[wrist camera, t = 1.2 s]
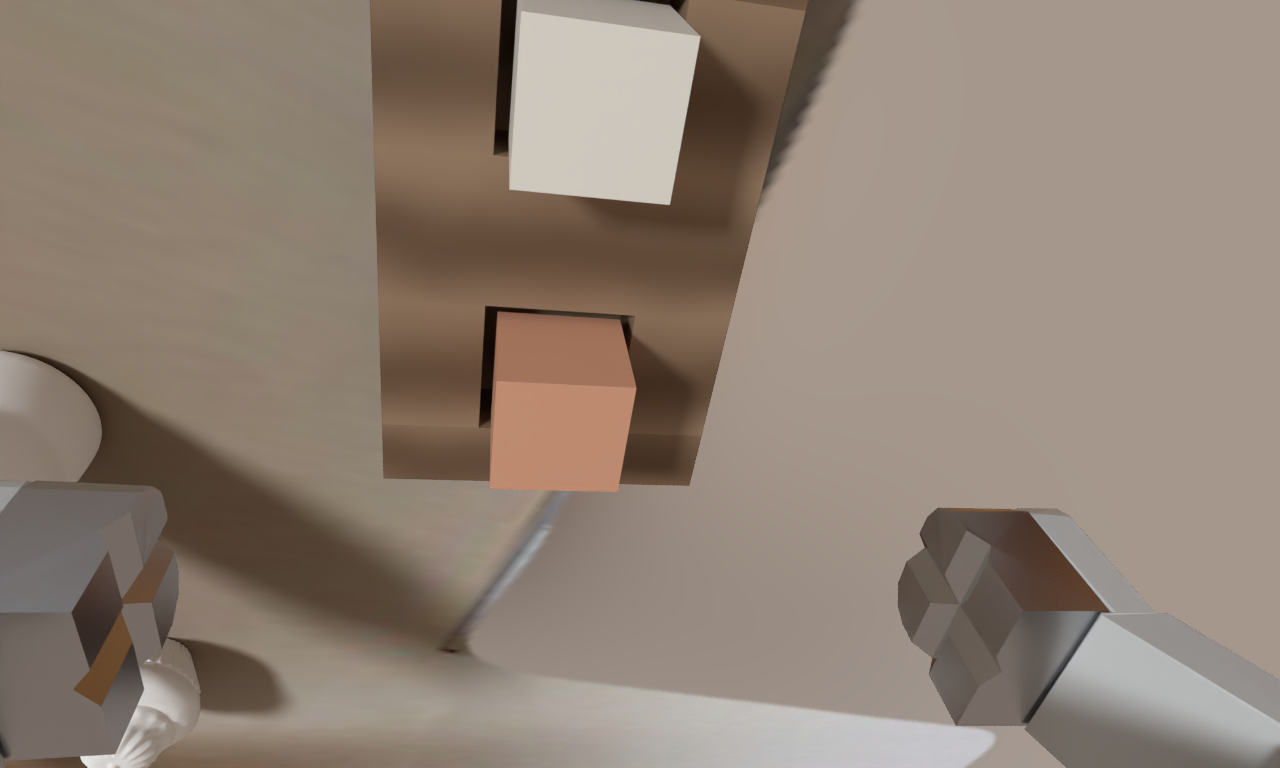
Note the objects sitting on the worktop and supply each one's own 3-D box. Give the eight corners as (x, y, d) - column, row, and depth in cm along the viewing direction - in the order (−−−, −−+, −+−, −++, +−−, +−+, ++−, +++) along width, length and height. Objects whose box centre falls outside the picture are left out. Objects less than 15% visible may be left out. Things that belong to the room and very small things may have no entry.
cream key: (518, -18, 26) (521, 11, 21) (670, 5, 27) (700, 36, 22) (508, 138, 28) (509, 189, 24) (646, 153, 29) (669, 204, 25)
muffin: (194, 610, 44) (148, 727, 38) (235, 678, 47) (198, 794, 42) (77, 628, 43) (12, 749, 38) (126, 695, 47) (74, 815, 41)
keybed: (382, -175, 26) (364, -177, 22) (793, -101, 28) (830, -92, 25) (393, 424, 39) (383, 478, 35) (674, 434, 41) (689, 485, 38)
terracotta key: (497, 311, 32) (496, 381, 28) (620, 319, 33) (636, 387, 29) (491, 412, 35) (489, 489, 31) (604, 416, 36) (617, 491, 32)
